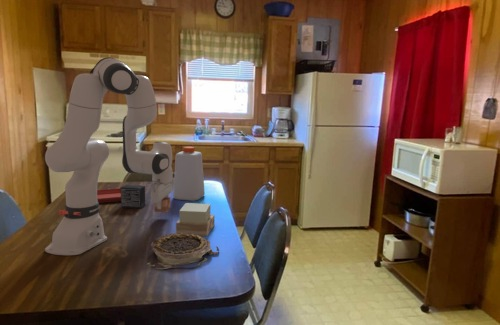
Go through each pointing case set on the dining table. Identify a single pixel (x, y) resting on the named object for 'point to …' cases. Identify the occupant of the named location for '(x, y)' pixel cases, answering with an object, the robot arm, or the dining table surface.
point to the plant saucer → (109, 195)
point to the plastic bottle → (188, 175)
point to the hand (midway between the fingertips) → (162, 206)
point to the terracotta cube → (163, 205)
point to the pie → (181, 249)
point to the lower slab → (196, 227)
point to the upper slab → (194, 213)
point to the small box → (132, 196)
